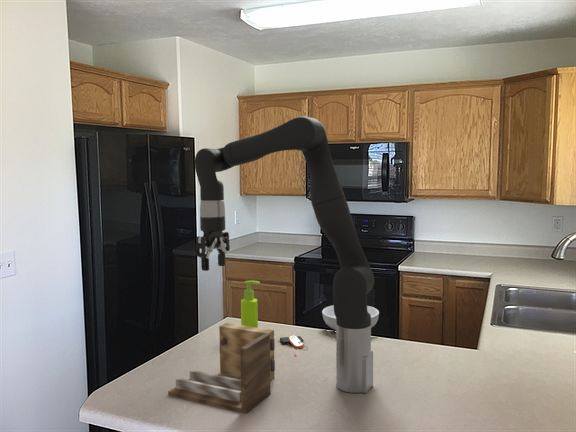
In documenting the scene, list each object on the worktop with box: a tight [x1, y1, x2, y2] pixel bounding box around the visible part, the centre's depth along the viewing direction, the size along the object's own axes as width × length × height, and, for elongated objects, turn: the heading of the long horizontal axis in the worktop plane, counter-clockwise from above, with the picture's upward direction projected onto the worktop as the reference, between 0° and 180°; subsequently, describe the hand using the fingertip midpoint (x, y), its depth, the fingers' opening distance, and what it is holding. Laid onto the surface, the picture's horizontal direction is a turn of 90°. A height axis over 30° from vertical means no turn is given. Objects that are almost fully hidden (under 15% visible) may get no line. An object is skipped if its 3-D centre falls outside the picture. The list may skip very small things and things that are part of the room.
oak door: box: [218, 322, 276, 382], centre depth 146 cm, size 17×5×14 cm, turn 63°
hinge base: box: [167, 334, 271, 414], centre depth 134 cm, size 24×12×16 cm, turn 63°
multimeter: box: [279, 334, 309, 357], centre depth 170 cm, size 18×12×3 cm, turn 9°
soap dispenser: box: [240, 280, 261, 328], centre depth 181 cm, size 6×7×20 cm
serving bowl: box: [321, 304, 380, 331], centre depth 190 cm, size 21×21×7 cm
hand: (213, 268), depth 156 cm, fingers open, 8 cm apart
